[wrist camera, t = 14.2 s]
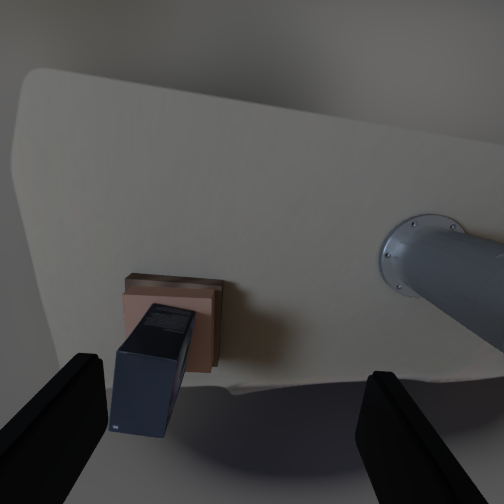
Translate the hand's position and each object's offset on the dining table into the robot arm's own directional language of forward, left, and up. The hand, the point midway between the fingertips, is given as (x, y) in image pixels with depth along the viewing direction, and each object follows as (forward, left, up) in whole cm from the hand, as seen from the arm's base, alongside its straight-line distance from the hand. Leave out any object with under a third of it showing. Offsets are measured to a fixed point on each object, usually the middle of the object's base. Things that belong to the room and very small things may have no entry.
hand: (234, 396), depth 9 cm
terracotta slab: (+10, +15, -28) cm, 33 cm away
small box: (+10, +15, -25) cm, 31 cm away
